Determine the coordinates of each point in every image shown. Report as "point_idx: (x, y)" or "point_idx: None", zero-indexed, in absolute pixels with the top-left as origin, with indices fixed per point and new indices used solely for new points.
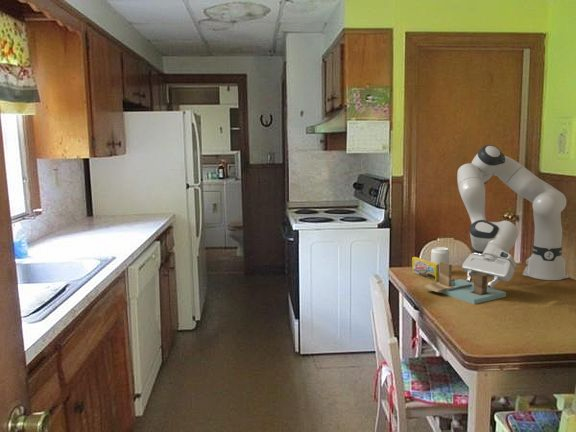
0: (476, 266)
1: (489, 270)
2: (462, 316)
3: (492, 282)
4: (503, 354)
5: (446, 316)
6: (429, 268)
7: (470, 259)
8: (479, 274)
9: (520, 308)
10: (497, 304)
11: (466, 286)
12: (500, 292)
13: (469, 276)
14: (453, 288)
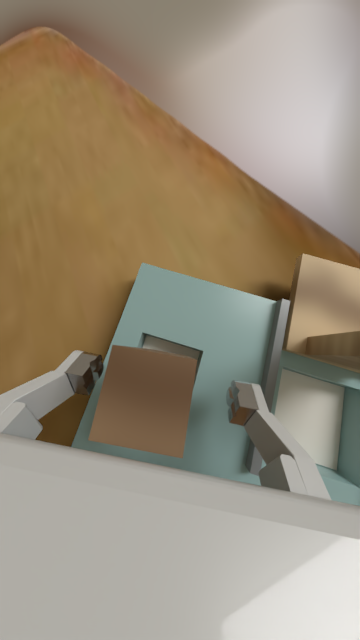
0: (275, 600)
1: (25, 503)
2: (137, 177)
3: (56, 373)
4: None
5: (171, 154)
6: None
7: None
8: (160, 401)
9: (2, 356)
10: (87, 346)
11: None
12: (83, 448)
13: (257, 414)
14: (275, 330)
